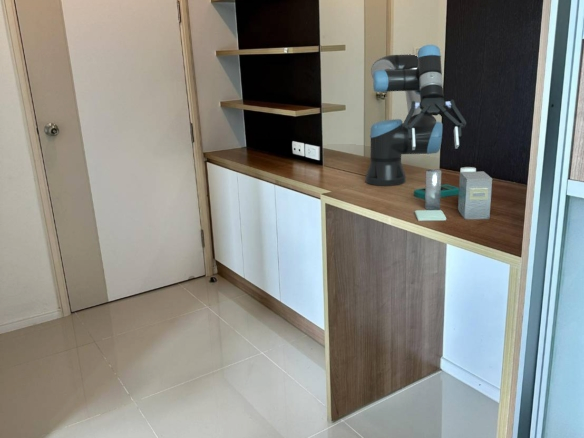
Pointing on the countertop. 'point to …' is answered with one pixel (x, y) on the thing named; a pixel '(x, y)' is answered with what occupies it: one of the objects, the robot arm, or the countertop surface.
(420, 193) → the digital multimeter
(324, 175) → the countertop surface
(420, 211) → the pad
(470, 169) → the cream canister
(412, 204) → the countertop surface
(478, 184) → the box
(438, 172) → the clear drinking glass
